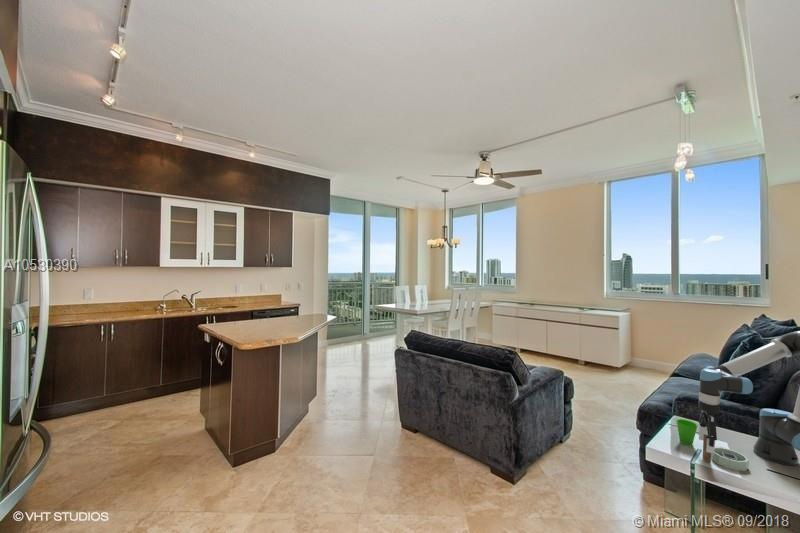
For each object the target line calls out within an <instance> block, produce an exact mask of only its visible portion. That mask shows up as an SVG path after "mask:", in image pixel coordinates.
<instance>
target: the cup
mask: <svg viewBox="0 0 800 533" xmlns="http://www.w3.org/2000/svg"><path fill="white" fill-rule="evenodd" d="M675 421H676V425H677V432H678V438H679V442H680V443H681V444H682V445H685V446H693V444H694V440H695V437H696V433H697V430H698V427H699V424H698V423H697V422H694V421H692V420H688V419H686V418H685V419H684V418H677V419H676V420H675Z"/></svg>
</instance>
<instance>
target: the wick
mask: <svg viewBox="0 0 800 533" xmlns="http://www.w3.org/2000/svg"><path fill="white" fill-rule="evenodd" d="M706 437H708V434H707V435H705V434H704V437H703V440H702V442H703V443H702V444H703V445H702V460H703V462H705V463H706V462H707V463H709V464H710V463H711V464H712V458H711V453H709V452H706V448H707V438H706Z"/></svg>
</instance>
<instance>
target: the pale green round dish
mask: <svg viewBox="0 0 800 533" xmlns="http://www.w3.org/2000/svg"><path fill="white" fill-rule="evenodd" d="M711 461H713V462H715V463H716V464H718V465H719V466H722V467H725V468H727V469H731V470H735V471H747V470H749V464H750V463H749V462H750V461H749V458H748V457H747V456H746V455H744V454H742V453H741V452H738V451H736V450H732V449H730V448H724V447H718V446H715V452H714V454H713V453H711Z"/></svg>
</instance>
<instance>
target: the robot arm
mask: <svg viewBox="0 0 800 533" xmlns="http://www.w3.org/2000/svg"><path fill="white" fill-rule="evenodd" d="M799 355H800V330H797V331H796V330H795V331H793V332H792V331H791V332H789V333H786V334H782V335H779V336H778V337H775V338H773V339H771V340H770V343H767V344H765V345H763V346H760V347H759V348H756V349H754V350H751V351H750V352H747V353H745V354H742V355H740V356H737V357H736V358H734V359H731V360H729V361H727V362H724V363H722V364H720V365H717V366H711V365H710V366H709V365H708V366H706V367H704V368H703V369H701V370H700V374H699V375H700V376H699V390H698V391H699V393H697V395H698V405H697V406H698V409H700V414H699V418H698V423H699V424H698V426H699V429H698V430H699V432H698V434H699V435H698V440H699V441H703V437H704V434H705V435H708V437H706V438H707V448H706V452H709V453H713V454H714V452H715V447H716V441H718V438H717V436H718V435H717V417H715V416H714V414H718V413H720V404H721V392H724V393H730V394H731V393H733V394H739V395H751V393H753V390H754V385H753V382H752V380H750V379H749V378H747V377H743V376H742V375H745V374H747V373H750V372H752V371H754V370H757V369H760V368H762V367H764V366H766V365H768V364H771V363H773V362H775V361H778V360H780V359H782V358H792V357H794V356H799ZM758 416H759V428H758V429H759V430H758V437H757V439H756V442H755V443H754V444H753V452H754V454H756V455H757V456H759V457H761V458H763V459H765V460H768V461H771V462H773V463H777V464H782V465H785V466H797V465H796V464H798V465H799V457H798V454H797V452H796V450H797V451H799V452H800V386H799V388H798V392H797V397H796V400H795V405H794V409H793V412H789V411H785V410H781V409H775V408H761V409H760V411H759V415H758Z"/></svg>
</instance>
